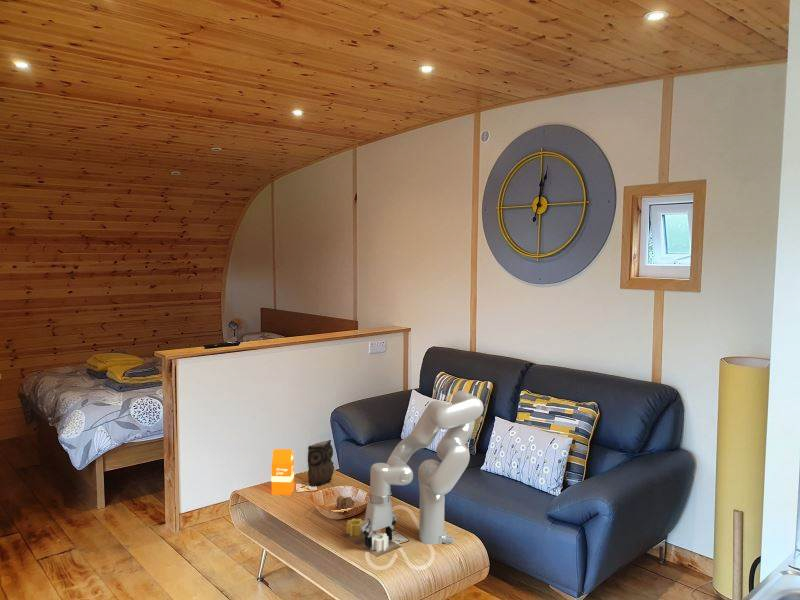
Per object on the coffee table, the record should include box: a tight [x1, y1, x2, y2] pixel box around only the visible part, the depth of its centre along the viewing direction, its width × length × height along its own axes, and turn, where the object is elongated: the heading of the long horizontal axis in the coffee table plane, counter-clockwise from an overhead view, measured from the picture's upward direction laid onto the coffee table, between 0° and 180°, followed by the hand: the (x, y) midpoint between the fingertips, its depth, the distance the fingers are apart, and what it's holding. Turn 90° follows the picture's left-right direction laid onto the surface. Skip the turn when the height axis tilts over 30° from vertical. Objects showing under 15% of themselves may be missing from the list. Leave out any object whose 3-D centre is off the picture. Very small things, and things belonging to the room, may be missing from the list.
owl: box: [307, 439, 335, 488], centre depth 293 cm, size 13×13×20 cm
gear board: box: [337, 528, 403, 558], centre depth 232 cm, size 24×12×4 cm, turn 41°
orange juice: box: [271, 448, 295, 496], centre depth 282 cm, size 8×9×20 cm
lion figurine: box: [336, 495, 356, 510], centre depth 259 cm, size 15×5×9 cm, turn 34°
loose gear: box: [370, 531, 388, 552], centre depth 227 cm, size 7×7×4 cm
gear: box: [346, 517, 365, 536], centre depth 239 cm, size 7×7×4 cm
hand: (378, 542), depth 227 cm, fingers open, 9 cm apart
